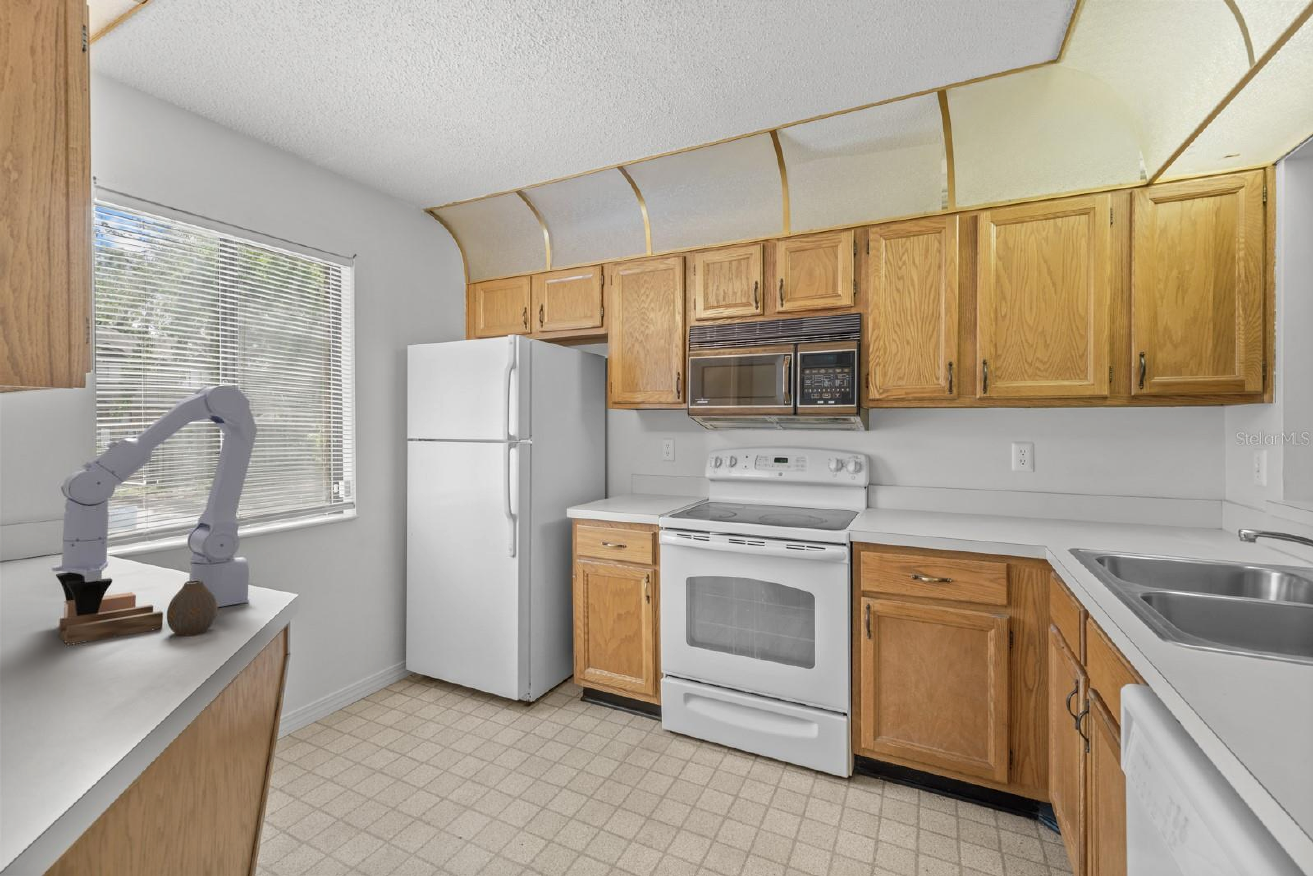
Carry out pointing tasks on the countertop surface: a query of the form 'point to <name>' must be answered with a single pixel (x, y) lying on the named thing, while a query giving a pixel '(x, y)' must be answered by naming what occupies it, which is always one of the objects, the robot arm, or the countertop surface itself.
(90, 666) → the countertop surface
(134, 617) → the rack
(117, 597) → the clay strip
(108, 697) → the countertop surface
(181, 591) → the vase
